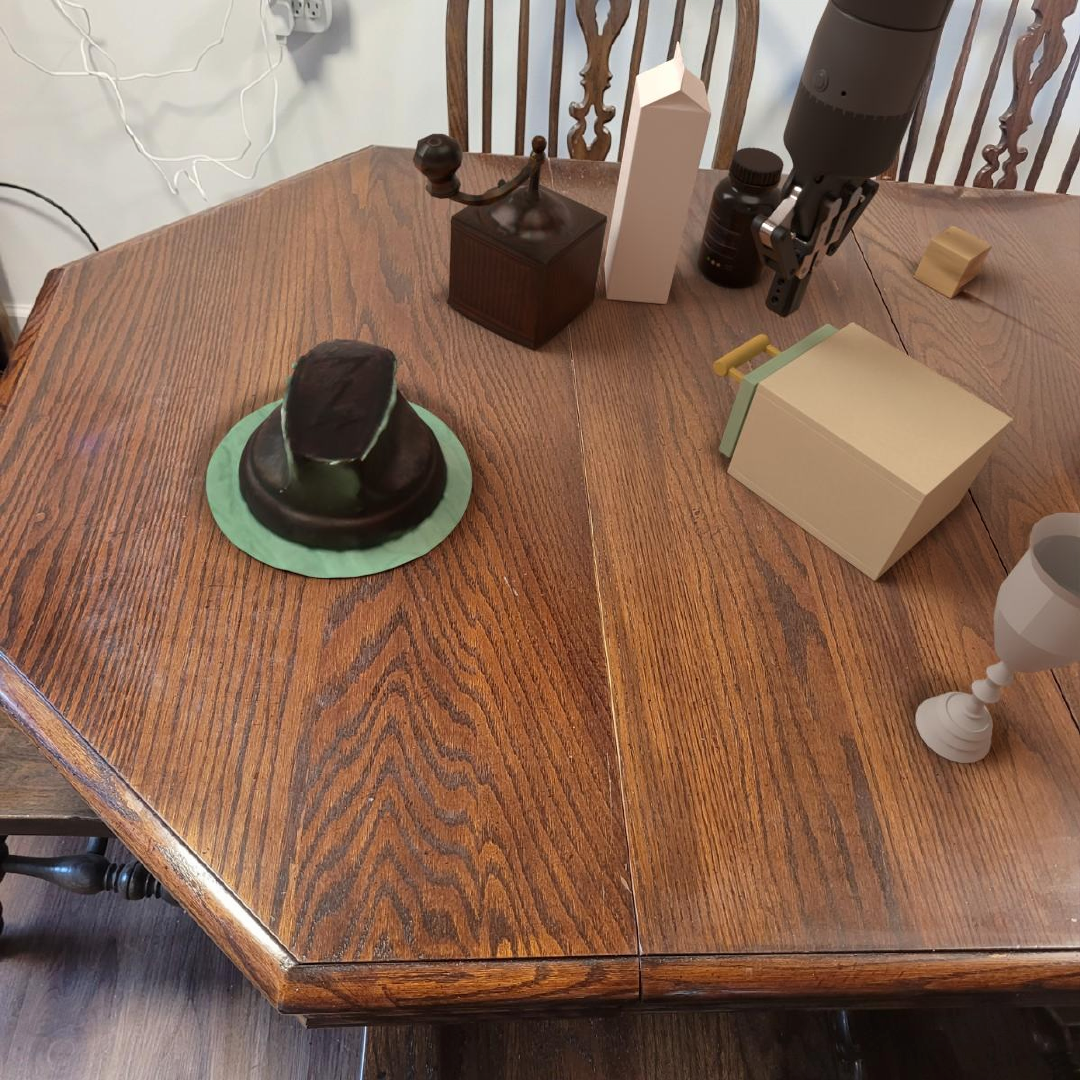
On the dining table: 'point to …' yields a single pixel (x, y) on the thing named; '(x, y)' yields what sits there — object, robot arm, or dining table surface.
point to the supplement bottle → (739, 217)
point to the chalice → (1016, 638)
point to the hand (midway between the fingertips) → (780, 309)
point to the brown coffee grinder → (515, 247)
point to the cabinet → (864, 446)
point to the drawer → (757, 375)
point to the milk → (656, 181)
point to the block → (951, 261)
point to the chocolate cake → (339, 470)
